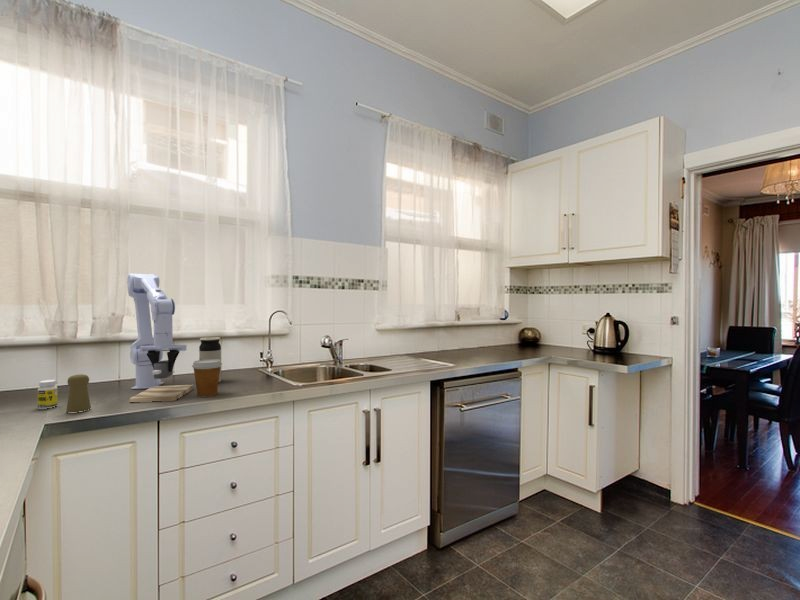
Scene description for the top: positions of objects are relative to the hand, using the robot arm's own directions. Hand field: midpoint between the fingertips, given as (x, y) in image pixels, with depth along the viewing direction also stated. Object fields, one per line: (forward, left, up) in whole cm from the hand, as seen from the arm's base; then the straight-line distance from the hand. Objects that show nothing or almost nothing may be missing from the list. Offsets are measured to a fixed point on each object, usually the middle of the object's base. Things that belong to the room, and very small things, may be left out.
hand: (163, 371), depth 142 cm
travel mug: (-20, +10, -9) cm, 24 cm away
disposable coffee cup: (+2, +15, -9) cm, 17 cm away
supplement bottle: (+10, -30, -9) cm, 33 cm away
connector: (+1, 0, -2) cm, 2 cm away
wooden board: (0, 0, -8) cm, 8 cm away
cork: (+16, -18, -9) cm, 26 cm away
